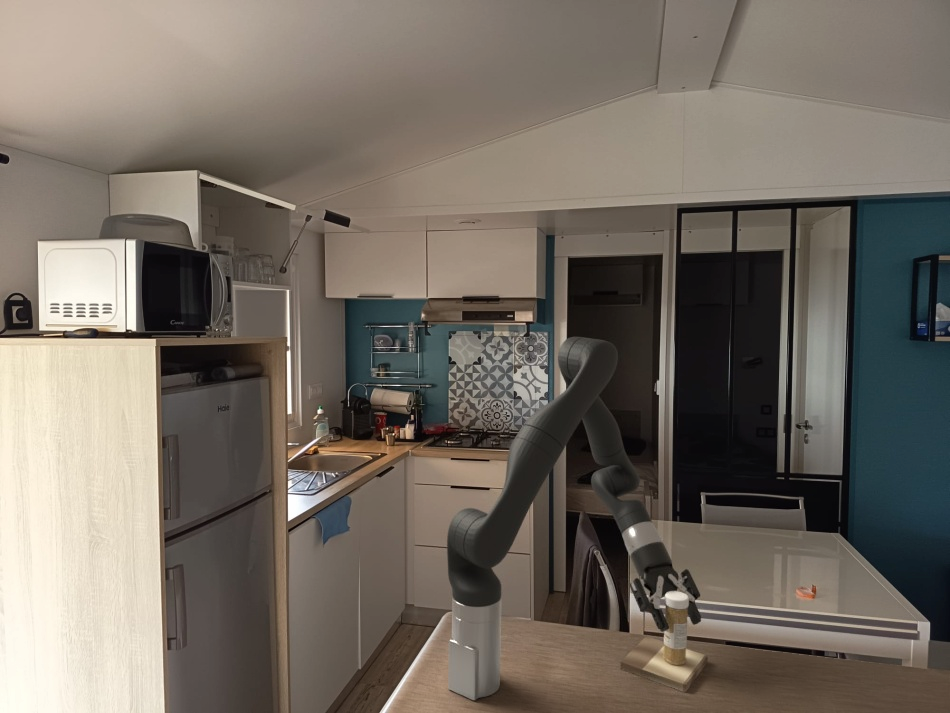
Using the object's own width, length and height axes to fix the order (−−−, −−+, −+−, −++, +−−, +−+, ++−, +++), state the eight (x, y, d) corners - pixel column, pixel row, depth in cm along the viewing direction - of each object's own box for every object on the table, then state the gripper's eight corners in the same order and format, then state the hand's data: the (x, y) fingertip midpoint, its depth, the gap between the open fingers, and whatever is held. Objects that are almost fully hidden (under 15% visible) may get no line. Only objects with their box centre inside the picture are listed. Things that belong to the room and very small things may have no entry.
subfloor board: (685, 692, 123) (685, 684, 123) (620, 669, 131) (620, 661, 131) (707, 663, 133) (707, 655, 133) (646, 642, 141) (646, 635, 141)
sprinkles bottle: (659, 654, 133) (661, 590, 132) (681, 653, 134) (683, 589, 133) (667, 666, 129) (670, 600, 128) (690, 665, 129) (692, 599, 128)
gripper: (626, 545, 133) (661, 626, 124) (682, 536, 139) (720, 613, 129) (610, 561, 139) (643, 640, 129) (664, 552, 144) (700, 627, 135)
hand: (681, 626), depth 129 cm, fingers open, 7 cm apart
